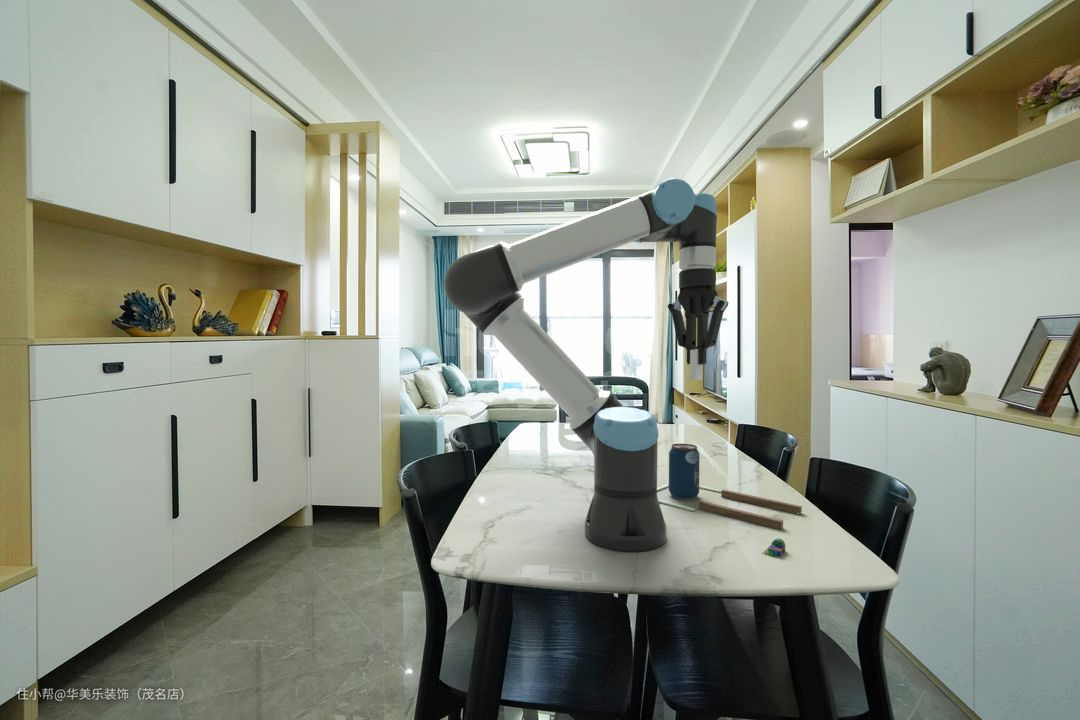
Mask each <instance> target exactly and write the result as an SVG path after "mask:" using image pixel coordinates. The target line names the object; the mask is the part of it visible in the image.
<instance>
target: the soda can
mask: <svg viewBox="0 0 1080 720" xmlns="http://www.w3.org/2000/svg"><path fill="white" fill-rule="evenodd" d="M668 483H669V487H668V492H669V493H670V496H671V497H673V498H675V499H677V500H682V501H690V500H695V499H696V498H697V497H698V496H699V493H700V488H699V486H700V453H699V450H698V447H697V445H695V444H689V443H674V444H672V445H671V448H670V450H669V451H668Z"/></svg>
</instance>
